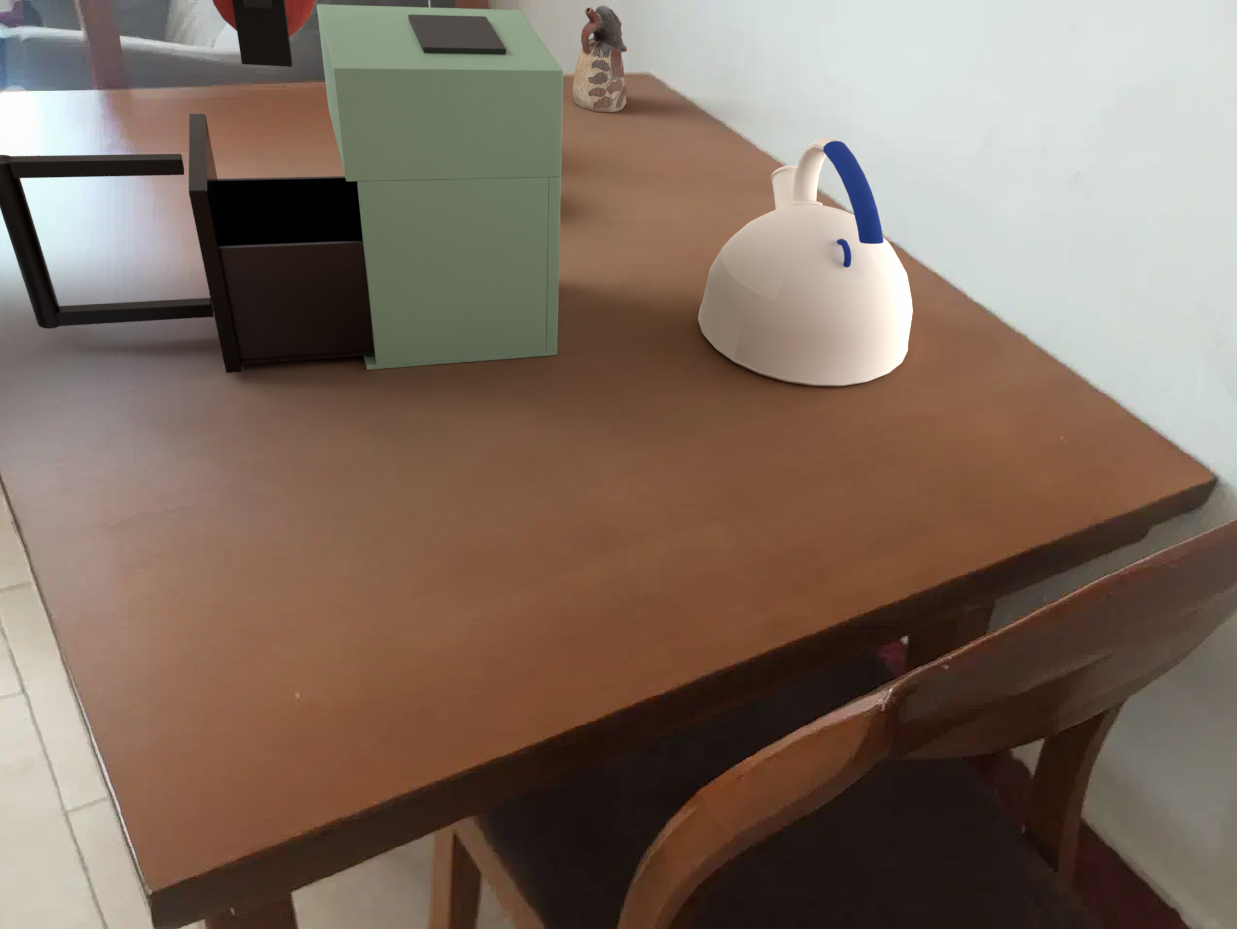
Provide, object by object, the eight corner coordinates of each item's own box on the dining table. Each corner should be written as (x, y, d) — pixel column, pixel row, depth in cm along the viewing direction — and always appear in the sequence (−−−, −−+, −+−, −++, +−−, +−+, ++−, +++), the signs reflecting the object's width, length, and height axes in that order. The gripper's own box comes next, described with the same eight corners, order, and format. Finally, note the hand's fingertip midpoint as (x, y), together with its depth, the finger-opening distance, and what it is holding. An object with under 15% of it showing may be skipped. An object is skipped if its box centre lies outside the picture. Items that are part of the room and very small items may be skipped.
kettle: (856, 276, 114) (894, 100, 102) (944, 381, 99) (999, 191, 88) (671, 283, 108) (689, 97, 96) (736, 396, 93) (766, 194, 81)
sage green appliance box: (366, 370, 89) (333, 62, 74) (348, 284, 100) (315, -2, 84) (557, 355, 95) (563, 64, 79) (521, 275, 105) (520, 4, 89)
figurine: (635, 110, 144) (642, 13, 136) (587, 114, 141) (591, 15, 133) (611, 92, 148) (615, -3, 141) (563, 95, 145) (566, -2, 137)
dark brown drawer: (32, 388, 81) (-33, 196, 71) (50, 292, 91) (-5, 113, 82) (420, 358, 90) (408, 185, 81) (397, 275, 101) (384, 112, 91)
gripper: (141, -483, 57) (218, -4, 71) (71, -498, 43) (184, 97, 58) (294, -457, 59) (338, 4, 73) (273, -463, 45) (333, 103, 60)
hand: (270, 44), depth 66 cm, fingers closed on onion, 6 cm apart
